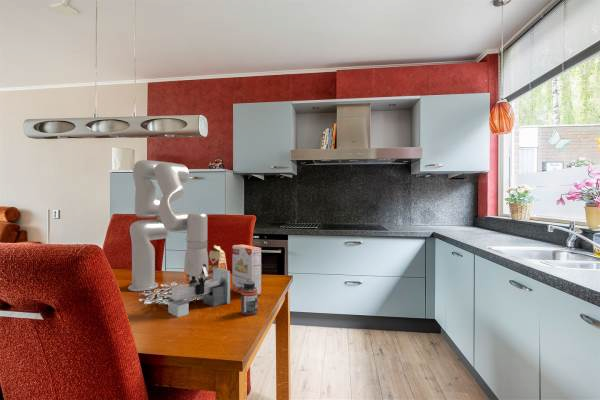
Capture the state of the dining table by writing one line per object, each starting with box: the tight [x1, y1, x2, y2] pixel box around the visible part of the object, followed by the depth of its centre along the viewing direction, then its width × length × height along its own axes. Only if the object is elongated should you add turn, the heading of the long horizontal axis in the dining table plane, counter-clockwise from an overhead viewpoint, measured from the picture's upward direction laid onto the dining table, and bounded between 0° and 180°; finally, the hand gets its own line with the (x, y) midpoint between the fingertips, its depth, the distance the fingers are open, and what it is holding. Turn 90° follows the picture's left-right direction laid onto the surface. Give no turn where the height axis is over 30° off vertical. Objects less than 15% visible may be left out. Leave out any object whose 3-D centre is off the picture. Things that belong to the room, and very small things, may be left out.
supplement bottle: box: [240, 281, 259, 316], centre depth 115 cm, size 6×6×11 cm
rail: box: [171, 279, 220, 301], centre depth 120 cm, size 4×18×4 cm, turn 139°
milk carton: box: [206, 244, 228, 280], centre depth 151 cm, size 9×9×20 cm
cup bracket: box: [202, 267, 231, 308], centre depth 126 cm, size 10×7×13 cm
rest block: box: [167, 297, 190, 318], centre depth 114 cm, size 7×4×5 cm, turn 49°
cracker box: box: [231, 243, 262, 296], centre depth 140 cm, size 14×6×21 cm, turn 47°
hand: (196, 292), depth 120 cm, fingers closed on rail, 4 cm apart
